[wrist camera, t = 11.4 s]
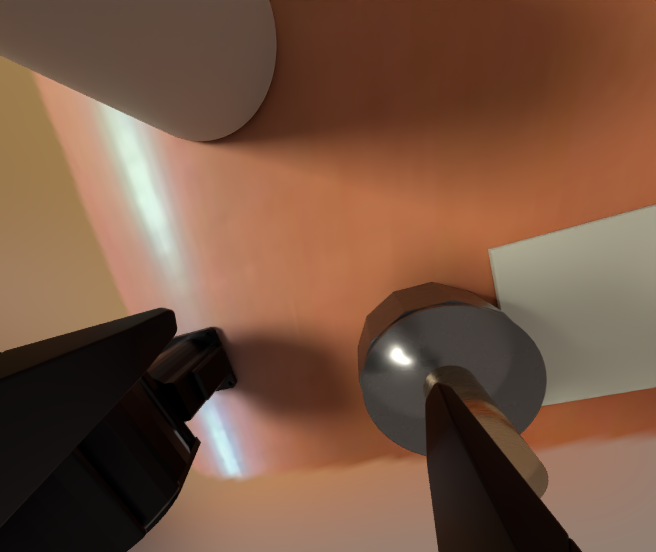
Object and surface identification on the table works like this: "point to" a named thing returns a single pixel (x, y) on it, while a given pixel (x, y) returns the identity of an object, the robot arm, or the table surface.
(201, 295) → the table surface
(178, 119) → the cylinder vase
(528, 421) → the cloche
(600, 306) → the mat
